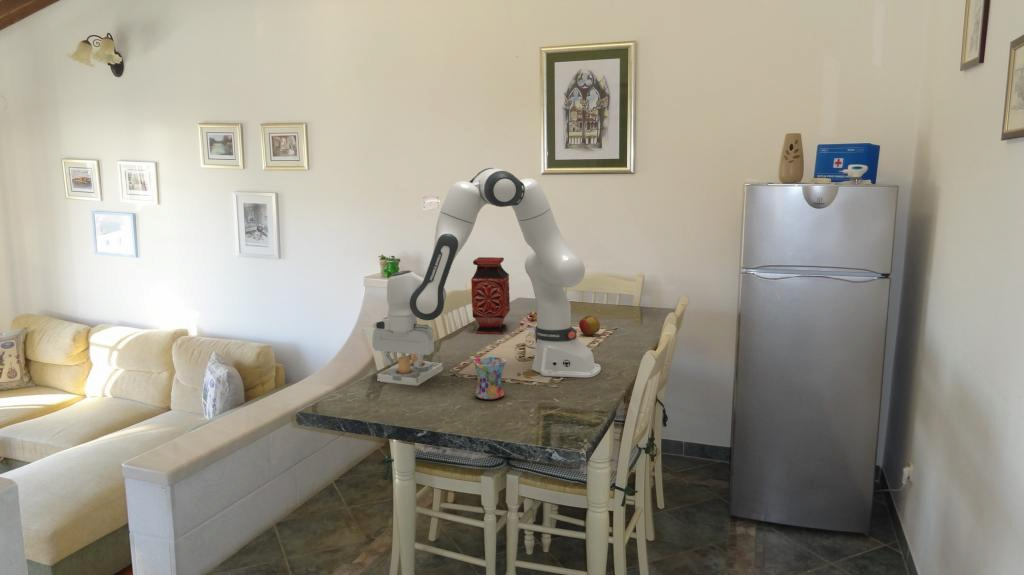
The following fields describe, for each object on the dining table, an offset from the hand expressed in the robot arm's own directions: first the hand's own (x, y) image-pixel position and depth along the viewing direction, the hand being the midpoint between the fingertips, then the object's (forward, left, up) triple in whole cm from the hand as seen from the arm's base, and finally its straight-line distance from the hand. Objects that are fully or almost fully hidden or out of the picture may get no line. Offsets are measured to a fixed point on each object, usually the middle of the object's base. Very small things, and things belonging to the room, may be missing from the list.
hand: (403, 366), depth 211 cm
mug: (-31, +6, -4) cm, 32 cm away
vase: (-1, -71, -4) cm, 72 cm away
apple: (-41, -76, -4) cm, 87 cm away
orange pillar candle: (0, 0, -3) cm, 3 cm away
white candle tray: (0, -4, -4) cm, 6 cm away
